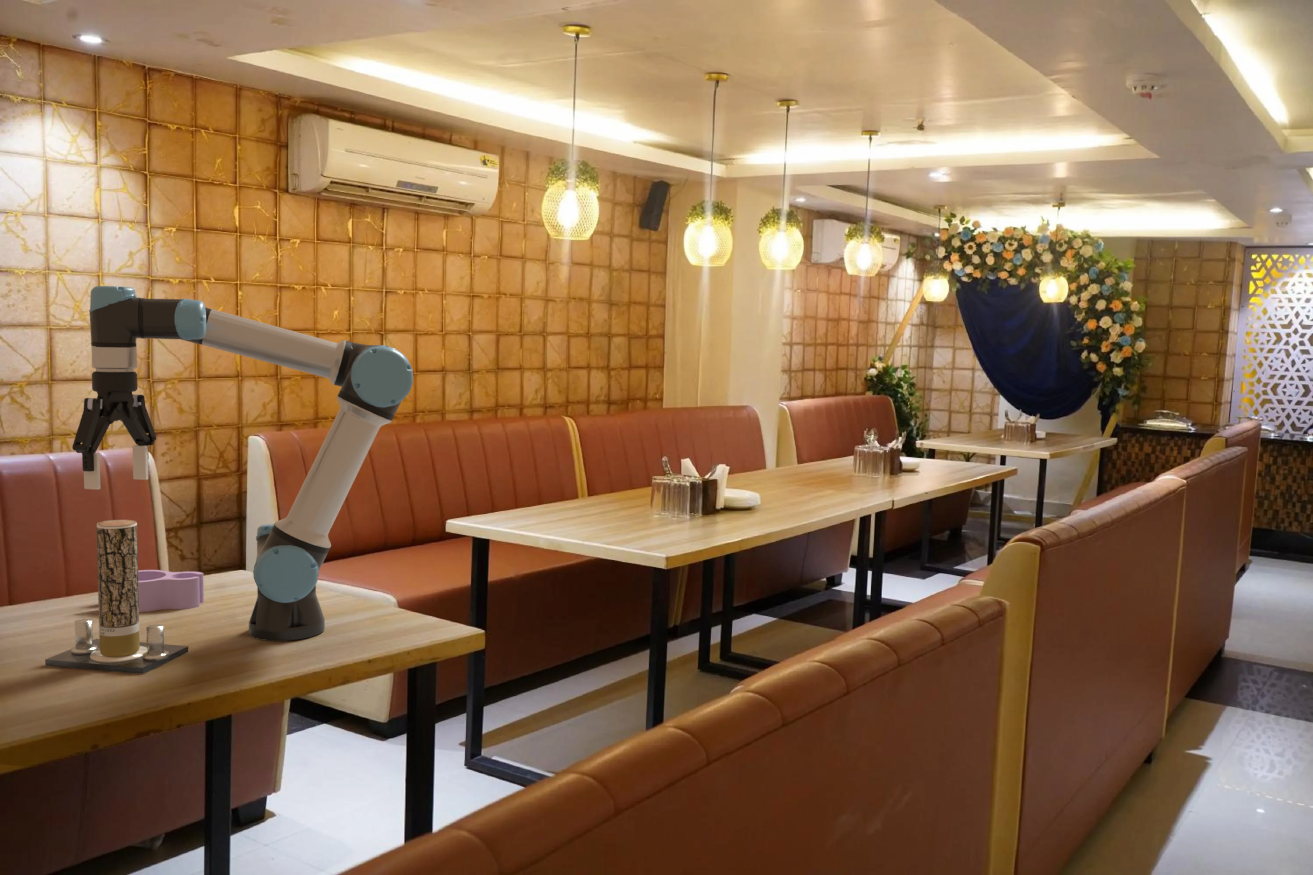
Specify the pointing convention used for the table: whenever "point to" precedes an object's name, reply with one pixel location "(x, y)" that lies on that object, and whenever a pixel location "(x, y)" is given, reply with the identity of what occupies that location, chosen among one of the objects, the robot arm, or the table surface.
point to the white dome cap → (101, 658)
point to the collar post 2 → (155, 643)
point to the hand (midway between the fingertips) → (117, 484)
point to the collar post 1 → (83, 638)
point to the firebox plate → (130, 666)
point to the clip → (169, 590)
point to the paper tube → (118, 587)
